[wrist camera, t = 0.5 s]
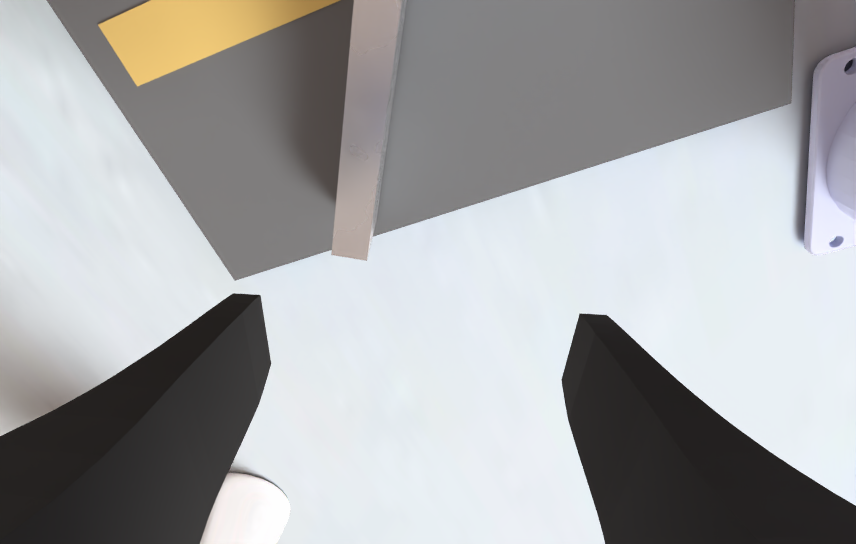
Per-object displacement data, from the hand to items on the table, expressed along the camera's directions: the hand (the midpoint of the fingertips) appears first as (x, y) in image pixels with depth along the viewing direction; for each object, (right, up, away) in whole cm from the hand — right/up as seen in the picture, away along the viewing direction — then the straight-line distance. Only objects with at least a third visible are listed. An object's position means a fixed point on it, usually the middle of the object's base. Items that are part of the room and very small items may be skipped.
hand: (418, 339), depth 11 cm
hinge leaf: (-2, +7, +6) cm, 9 cm away
